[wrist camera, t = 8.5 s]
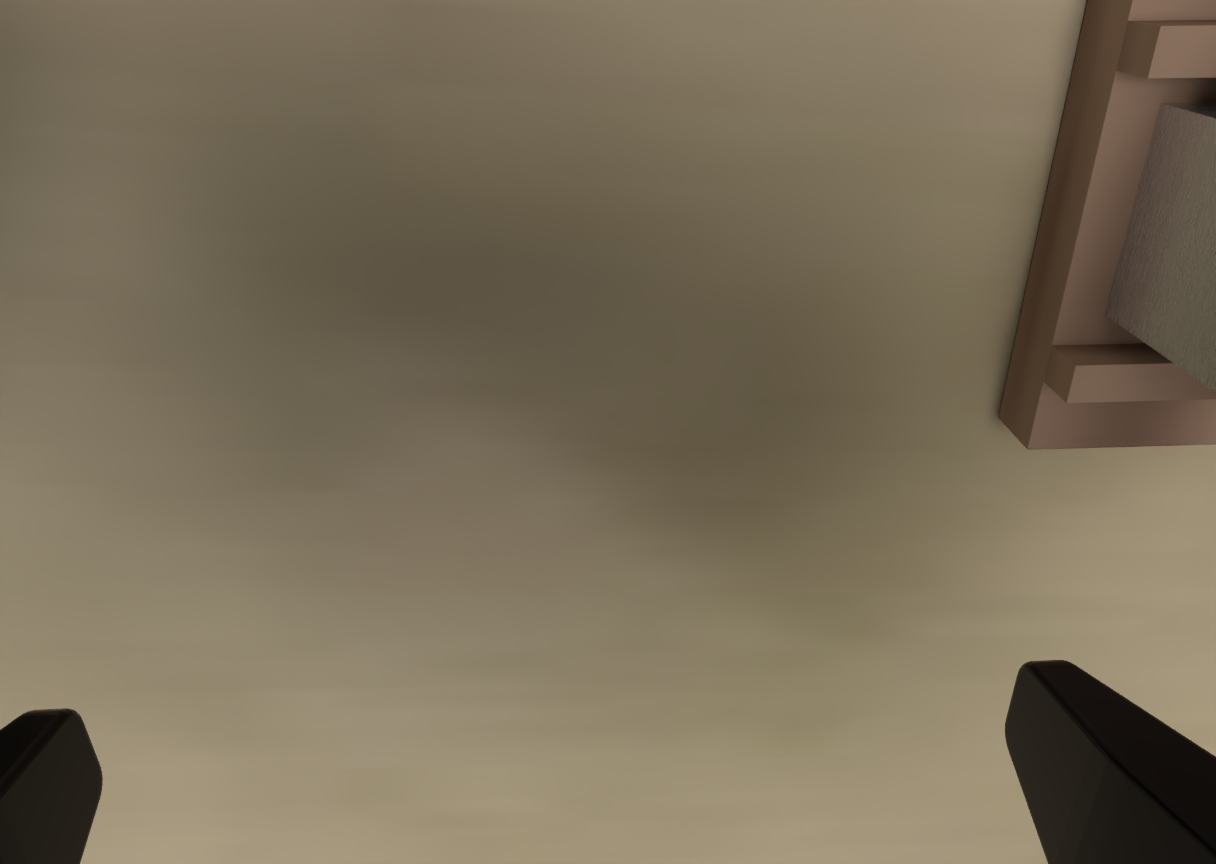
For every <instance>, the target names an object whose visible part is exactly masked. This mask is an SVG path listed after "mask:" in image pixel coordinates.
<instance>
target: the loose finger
mask: <svg viewBox="0 0 1216 864" xmlns="http://www.w3.org/2000/svg"><path fill="white" fill-rule="evenodd" d="M1104 315H1106V316H1107V317H1109V318H1110V319H1111V320H1113V321H1114V322H1116V323H1117V324H1119V325H1120V326H1121V327H1123V328H1124V329H1126V330H1127V331H1129V332H1130V333H1131V334H1133V335H1134V336H1136V337H1137V338H1139V339H1140V340H1141V341H1143V342H1144V343H1146V344H1147V345H1148V346H1150V347H1151V348H1153V349H1154V350H1156V351H1157V352H1158V353H1160V354H1161V355H1163V356H1164V357H1166V358H1167V359H1168V360H1170V361H1171V362H1173V363H1174V364H1176V365H1177V366H1178V367H1180V368H1181V369H1183V370H1184V371H1186V372H1187V373H1188V374H1190V375H1191V376H1193V377H1194V378H1195V379H1197V380H1198V381H1200V382H1201V383H1203V384H1204V385H1205V386H1207V387H1208V388H1210V389H1211V390H1213V391H1214V392H1215V393H1216V103H1161V104H1160V108H1159V111H1158V115H1157V119H1156V122H1155V126H1154V130H1153V134H1152V137H1151V141H1150V145H1149V149H1148V152H1147V156H1146V160H1145V164H1144V167H1143V171H1142V175H1141V178H1140V182H1139V186H1138V190H1137V193H1136V197H1135V201H1134V205H1133V208H1132V212H1131V216H1130V219H1129V223H1128V227H1127V231H1126V234H1125V238H1124V242H1123V246H1122V249H1121V253H1120V257H1119V260H1118V264H1117V268H1116V272H1115V275H1114V279H1113V283H1112V287H1111V290H1110V294H1109V298H1108V301H1107V305H1106V309H1105V313H1104Z"/></svg>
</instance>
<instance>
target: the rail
mask: <svg viewBox="0 0 1216 864" xmlns="http://www.w3.org/2000/svg"><path fill="white" fill-rule="evenodd" d="M1161 103H1216V0H1088V1H1087V6H1086V10H1085V15H1084V20H1083V24H1082V29H1081V34H1080V38H1079V43H1078V48H1077V52H1076V57H1075V62H1074V66H1073V71H1072V76H1071V81H1070V85H1069V90H1068V95H1067V99H1066V104H1065V109H1064V113H1063V118H1062V123H1061V127H1060V132H1059V137H1058V141H1057V146H1056V151H1055V155H1054V160H1053V165H1052V170H1051V174H1050V179H1049V184H1048V188H1047V193H1046V198H1045V202H1044V207H1043V212H1042V216H1041V221H1040V226H1039V230H1038V235H1037V240H1036V245H1035V249H1034V254H1033V259H1032V263H1031V268H1030V273H1029V277H1028V282H1027V287H1026V291H1025V296H1024V301H1023V305H1022V310H1021V315H1020V319H1019V324H1018V329H1017V334H1016V338H1015V343H1014V348H1013V352H1012V357H1011V362H1010V366H1009V371H1008V376H1007V380H1006V385H1005V390H1004V394H1003V399H1002V404H1001V408H1000V413H999V419H1000V420H1001V421H1002V422H1003V423H1004V424H1005V425H1006V426H1007V427H1008V429H1009V430H1010V431H1011V432H1012V433H1013V434H1014V435H1015V436H1016V437H1017V438H1018V440H1019V441H1020V442H1021V443H1022V444H1023V445H1024V446H1025V447H1026V448H1027V450H1030V449H1066V448H1102V447H1139V446H1175V445H1212V444H1216V393H1215V392H1214V391H1213V390H1211V389H1210V388H1208V387H1207V386H1205V385H1204V384H1203V383H1201V382H1200V381H1198V380H1197V379H1195V378H1194V377H1193V376H1191V375H1190V374H1188V373H1187V372H1186V371H1184V370H1183V369H1181V368H1180V367H1178V366H1177V365H1176V364H1174V363H1173V362H1171V361H1170V360H1168V359H1167V358H1166V357H1164V356H1163V355H1161V354H1160V353H1158V352H1157V351H1156V350H1154V349H1153V348H1151V347H1150V346H1148V345H1147V344H1146V343H1144V342H1143V341H1141V340H1140V339H1139V338H1137V337H1136V336H1134V335H1133V334H1131V333H1130V332H1129V331H1127V330H1126V329H1124V328H1123V327H1121V326H1120V325H1119V324H1117V323H1116V322H1114V321H1113V320H1111V319H1110V318H1109V317H1107V316H1106V315H1104V313H1105V309H1106V305H1107V301H1108V298H1109V294H1110V290H1111V287H1112V283H1113V279H1114V275H1115V272H1116V268H1117V264H1118V260H1119V257H1120V253H1121V249H1122V246H1123V242H1124V238H1125V234H1126V231H1127V227H1128V223H1129V219H1130V216H1131V212H1132V208H1133V205H1134V201H1135V197H1136V193H1137V190H1138V186H1139V182H1140V178H1141V175H1142V171H1143V167H1144V164H1145V160H1146V156H1147V152H1148V149H1149V145H1150V141H1151V137H1152V134H1153V130H1154V126H1155V122H1156V119H1157V115H1158V111H1159V108H1160V104H1161Z"/></svg>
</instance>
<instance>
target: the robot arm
mask: <svg viewBox="0 0 1216 864" xmlns="http://www.w3.org/2000/svg"><path fill="white" fill-rule="evenodd" d="M1005 737H1006V743H1007V747H1008V750H1009V753H1010V756H1011V759H1012V762H1013V765H1014V767H1015V770H1016V773H1017V776H1018V779H1019V782H1020V785H1021V787H1022V790H1023V793H1024V796H1025V799H1026V802H1027V805H1028V808H1029V810H1030V813H1031V816H1032V819H1033V822H1034V825H1035V828H1036V830H1037V833H1038V836H1039V839H1040V842H1041V845H1042V848H1043V850H1044V853H1045V856H1046V859H1047V862H1048V864H1216V757H1215V756H1214V755H1212V754H1211V753H1209V752H1208V751H1206V750H1205V749H1203V748H1201V747H1200V746H1198V745H1197V744H1195V743H1194V742H1192V741H1191V740H1189V739H1188V738H1186V737H1185V736H1183V735H1182V734H1180V733H1178V732H1177V731H1175V730H1174V729H1172V728H1171V727H1169V726H1168V725H1166V724H1165V723H1163V722H1162V721H1160V720H1159V719H1157V718H1155V717H1154V716H1152V715H1151V714H1149V713H1148V712H1146V711H1145V710H1143V709H1142V708H1140V707H1139V706H1137V705H1136V704H1134V703H1132V702H1131V701H1129V700H1128V699H1126V698H1125V697H1123V696H1122V695H1120V694H1119V693H1117V692H1116V691H1114V690H1113V689H1111V688H1109V687H1108V686H1106V685H1105V684H1103V683H1102V682H1100V681H1099V680H1097V679H1096V678H1094V677H1093V676H1091V675H1090V674H1088V673H1086V672H1085V671H1083V670H1082V669H1080V668H1079V667H1077V666H1076V665H1074V664H1072V663H1070V662H1068V661H1064V660H1048V661H1030V662H1027V663H1025V664H1024V665H1022V667H1021V668H1020V669H1019V672H1018V675H1017V678H1016V682H1015V686H1014V690H1013V694H1012V698H1011V702H1010V706H1009V710H1008V714H1007V718H1006V723H1005ZM102 779H103V778H102V771H101V767H100V764H99V761H98V759H97V756H96V754H95V751H94V748H93V746H92V743H91V741H90V738H89V735H88V733H87V730H86V728H85V725H84V722H83V720H82V718H81V716H80V715H79V714H78V713H77V712H76V711H74V710H72V709H46V710H33V711H29V712H26V713H24V714H22V715H21V716H19V717H18V718H16V719H15V720H13V721H12V722H11V723H9V724H8V725H6V726H5V727H4V728H2V729H1V730H0V864H80V862H81V859H82V856H83V852H84V849H85V846H86V842H87V839H88V836H89V833H90V829H91V826H92V823H93V819H94V816H95V813H96V810H97V806H98V803H99V800H100V796H101V791H102Z"/></svg>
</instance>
